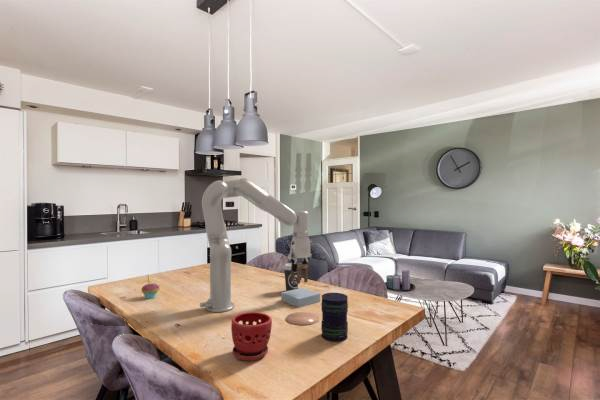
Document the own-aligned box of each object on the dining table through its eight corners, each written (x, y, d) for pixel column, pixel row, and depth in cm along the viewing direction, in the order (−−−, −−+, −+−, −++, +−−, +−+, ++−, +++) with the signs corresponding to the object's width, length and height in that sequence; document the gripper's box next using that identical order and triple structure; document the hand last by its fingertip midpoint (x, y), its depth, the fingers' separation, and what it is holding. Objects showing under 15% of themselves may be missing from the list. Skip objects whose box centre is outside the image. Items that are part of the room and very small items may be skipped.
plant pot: (259, 367, 96) (259, 328, 96) (223, 359, 101) (223, 321, 101) (278, 348, 108) (278, 313, 108) (244, 342, 113) (245, 308, 113)
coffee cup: (301, 289, 181) (301, 263, 181) (299, 294, 171) (299, 266, 171) (284, 288, 182) (284, 262, 182) (282, 293, 172) (282, 266, 172)
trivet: (300, 328, 126) (300, 327, 126) (279, 317, 136) (279, 317, 136) (325, 319, 135) (325, 318, 135) (304, 310, 145) (304, 309, 145)
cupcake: (137, 298, 163) (137, 275, 163) (152, 294, 170) (152, 272, 170) (148, 301, 159) (148, 277, 159) (163, 296, 166) (163, 273, 166)
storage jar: (353, 336, 118) (353, 296, 118) (337, 344, 111) (338, 302, 111) (331, 328, 125) (331, 291, 125) (315, 336, 118) (316, 296, 118)
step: (298, 307, 150) (298, 299, 150) (281, 300, 161) (281, 292, 161) (320, 301, 159) (320, 293, 159) (302, 295, 170) (302, 287, 170)
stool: (298, 283, 155) (298, 266, 155) (290, 281, 160) (291, 264, 160) (307, 282, 159) (308, 265, 159) (299, 279, 164) (300, 263, 164)
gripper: (291, 236, 151) (290, 274, 151) (318, 235, 162) (317, 270, 162) (282, 235, 157) (281, 271, 157) (308, 233, 168) (307, 267, 168)
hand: (299, 270), depth 160 cm, fingers closed on stool, 6 cm apart
